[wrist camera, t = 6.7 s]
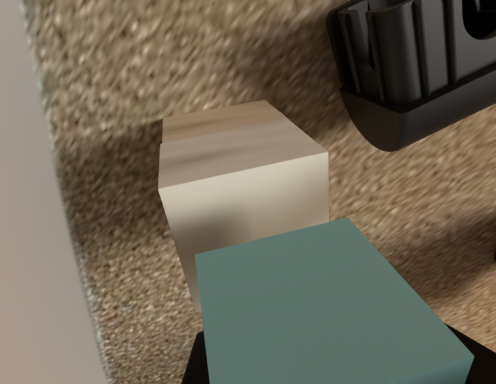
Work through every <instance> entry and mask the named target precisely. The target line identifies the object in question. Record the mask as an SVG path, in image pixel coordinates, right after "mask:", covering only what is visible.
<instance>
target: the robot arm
mask: <svg viewBox="0 0 496 384" xmlns="http://www.w3.org/2000/svg"><path fill="white" fill-rule="evenodd" d="M494 260H495V261H496V255H495V258H494ZM444 324H445V323H444ZM445 325H446V326H447V327H448V328H449V329H450V330H451V331H452V332H453V333H454V334H455V336H456V337H457V338H458V339H459V340H460V341H461V342H462V343H463V344H464V345H465V347H466V348H467V349H468V350H469V351H470V352H471V353H472V354H473V355H474V359H473V361H472V364H471V367H470V370H469V373H468V376H467V378H466V381H465V384H496V353H495V352H493V351H492V350H490V349H488V348H486V347H485V346H483V345H481V344H480V343H478V342H476V341H474V340H473V339H471V338H469V337H468V336H466V335H464V334H462V333H461V332H459V331H457V330H456V329H454V328H452V327H451V326H449V325H447V324H445ZM181 384H210V381H209V372H208V364H207V355H206V347H205V338H204V331H201V332H199V333H198V334H197V335H196V338H195V341H194V345H193V348H192V351H191V354H190V357H189V360H188V364H187V367H186V370H185V373H184V376H183V379H182V383H181Z"/></svg>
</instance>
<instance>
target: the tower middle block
mask: <svg viewBox="0 0 496 384" xmlns="http://www.w3.org/2000/svg"><path fill="white" fill-rule="evenodd" d="M158 191H159V194H160V197H161V200H162V203H163V207H164V210H165V213H166V216H167V220H168V223H169V226H170V229H171V232H172V236H173V239H174V242H175V245H176V249H177V252H178V255H179V258H180V261H181V265H182V268H183V271H184V274H185V277H186V281H187V284H188V287H189V290H190V294H191V297H192V300H193V303H194V306H195V310H196V312H199V311H201V304H200V295H199V287H198V278H197V270H196V261H195V254H199V253H203V252H207V251H212V250H216V249H220V248H224V247H228V246H232V245H236V244H240V243H245V242H249V241H253V240H257V239H261V238H265V237H269V236H273V235H278V234H282V233H286V232H290V231H294V230H298V229H302V228H306V227H311V226H315V225H319V224H323V223H327V222H329V190H328V151H327V150H325V149H324V148H323V147H322V146H320V145H319V144H318V143H317V142H315V141H314V140H313V139H312V138H311V137H309V136H308V135H307V134H306V133H304V132H303V131H302V130H301V129H300V128H298V127H297V126H296V125H295V124H293V123H292V122H291V121H290V120H289V119H282V120H277V121H272V122H267V123H262V124H257V125H252V126H247V127H242V128H237V129H232V130H227V131H222V132H217V133H212V134H207V135H202V136H197V137H192V138H187V139H182V140H177V141H173V142H168V143H163V144H160V160H159V179H158Z"/></svg>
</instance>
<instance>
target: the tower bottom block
mask: <svg viewBox="0 0 496 384" xmlns="http://www.w3.org/2000/svg"><path fill="white" fill-rule="evenodd" d="M282 119H288V118H287V117H285V116H284V115H283V114H282V113H281V112H279V111H278V110H277V109H276V108H274V107H273V106H272V105H271V104H269V103H268V102H267V101H266V100H259V101H254V102H248V103H243V104H237V105H232V106H227V107H221V108H216V109H210V110H205V111H199V112H194V113H188V114H183V115H177V116H172V117H167V118H163V133H162V144H163V143H168V142H173V141H177V140H182V139H187V138H192V137H197V136H202V135H207V134H212V133H217V132H222V131H227V130H232V129H237V128H242V127H247V126H252V125H257V124H262V123H267V122H272V121H277V120H282Z"/></svg>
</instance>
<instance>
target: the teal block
mask: <svg viewBox="0 0 496 384" xmlns="http://www.w3.org/2000/svg"><path fill="white" fill-rule="evenodd" d="M195 261H196V270H197V278H198V287H199V295H200V304H201V312H202V321H203V329H204V338H205V347H206V355H207V364H208V372H209V381H210V384H465V381H466V378H467V376H468V373H469V370H470V367H471V364H472V361H473V359H474V355H473V354H472V353H471V352H470V351H469V350H468V349H467V348H466V347H465V345H464V344H463V343H462V342H461V341H460V340H459V339H458V338H457V337H456V336H455V334H454V333H453V332H452V331H451V330H450V329H449V328H448V327H447V326H446V325H445V324H444V322H443V321H442V320H441V319H440V318H439V317H438V316H437V315H436V314H435V313H434V311H433V310H432V309H431V308H430V307H429V306H428V305H427V304H426V303H425V302H424V301H423V299H422V298H421V297H420V296H419V295H418V294H417V293H416V292H415V291H414V290H413V288H412V287H411V286H410V285H409V284H408V283H407V282H406V281H405V280H404V279H403V278H402V276H401V275H400V274H399V273H398V272H397V271H396V270H395V269H394V268H393V267H392V265H391V264H390V263H389V262H388V261H387V260H386V259H385V258H384V257H383V256H382V255H381V253H380V252H379V251H378V250H377V249H376V248H375V247H374V246H373V245H372V244H371V242H370V241H369V240H368V239H367V238H366V237H365V236H364V235H363V234H362V233H361V232H360V230H359V229H358V228H357V227H356V226H355V225H354V224H353V223H352V222H351V221H350V219H349V218H344V219H339V220H335V221H331V222H327V223H323V224H319V225H315V226H311V227H306V228H302V229H298V230H294V231H290V232H286V233H282V234H278V235H273V236H269V237H265V238H261V239H257V240H253V241H249V242H245V243H240V244H236V245H232V246H228V247H224V248H220V249H216V250H212V251H207V252H203V253H199V254H195Z"/></svg>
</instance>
